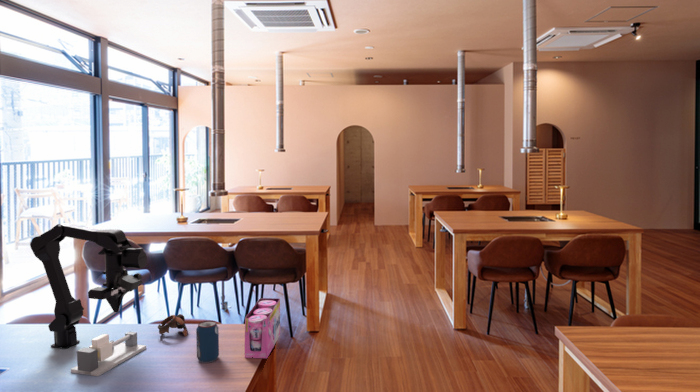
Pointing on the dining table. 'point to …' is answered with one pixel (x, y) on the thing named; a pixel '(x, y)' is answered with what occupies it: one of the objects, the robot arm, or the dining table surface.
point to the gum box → (262, 328)
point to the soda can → (207, 341)
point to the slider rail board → (121, 352)
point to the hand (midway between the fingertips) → (116, 312)
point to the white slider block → (102, 346)
